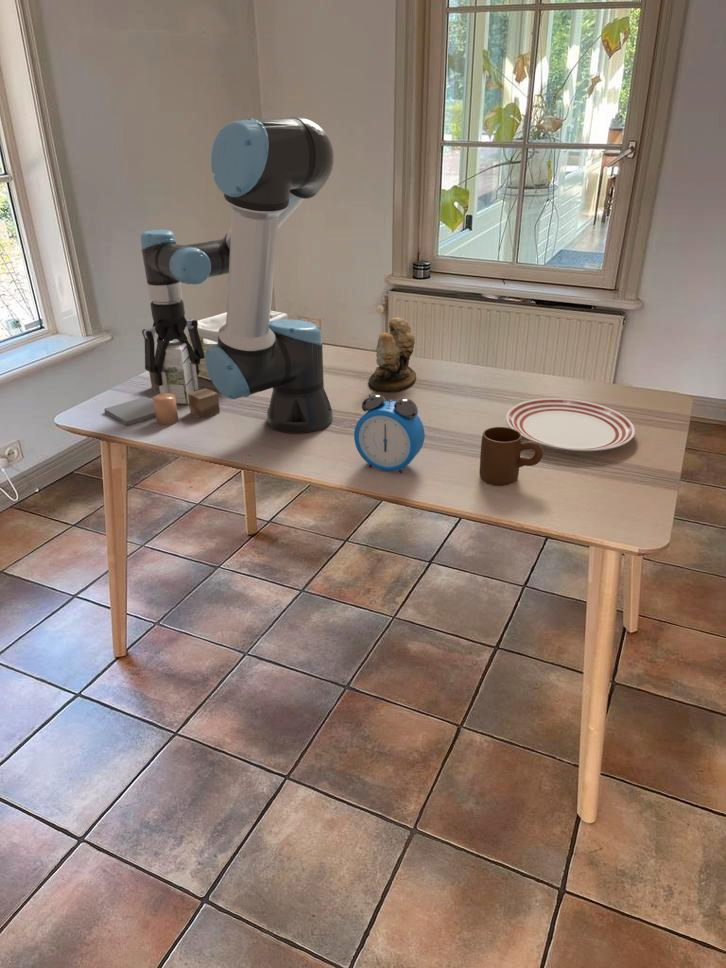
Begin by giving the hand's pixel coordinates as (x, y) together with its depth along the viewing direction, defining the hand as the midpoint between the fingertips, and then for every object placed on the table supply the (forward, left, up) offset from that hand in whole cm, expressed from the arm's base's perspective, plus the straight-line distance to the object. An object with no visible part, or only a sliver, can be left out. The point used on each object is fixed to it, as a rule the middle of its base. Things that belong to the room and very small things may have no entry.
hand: (179, 392), depth 180 cm
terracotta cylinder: (-9, +9, -2) cm, 13 cm away
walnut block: (-11, 0, -2) cm, 11 cm away
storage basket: (+7, -24, -3) cm, 25 cm away
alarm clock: (-62, -11, -2) cm, 63 cm away
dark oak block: (+11, -2, -2) cm, 11 cm away
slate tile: (+1, +12, -2) cm, 12 cm away
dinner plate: (-79, -50, -3) cm, 94 cm away
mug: (-83, -23, -2) cm, 86 cm away
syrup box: (0, 0, -2) cm, 2 cm away
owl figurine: (-28, -47, -2) cm, 55 cm away
